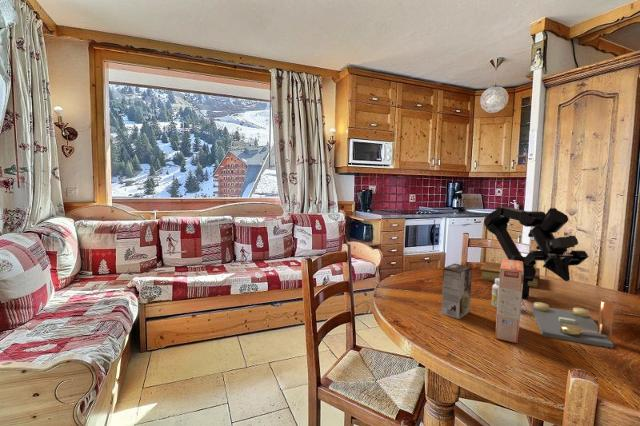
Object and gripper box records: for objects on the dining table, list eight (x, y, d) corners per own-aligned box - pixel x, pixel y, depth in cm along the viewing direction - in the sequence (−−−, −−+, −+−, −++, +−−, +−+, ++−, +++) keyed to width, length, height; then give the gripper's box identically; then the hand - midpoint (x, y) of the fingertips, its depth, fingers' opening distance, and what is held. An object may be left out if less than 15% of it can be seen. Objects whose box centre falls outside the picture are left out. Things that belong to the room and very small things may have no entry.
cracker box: (519, 344, 91) (524, 270, 89) (494, 339, 94) (498, 267, 92) (519, 326, 102) (524, 260, 101) (498, 322, 106) (501, 258, 104)
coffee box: (452, 307, 118) (454, 263, 117) (470, 312, 114) (472, 266, 112) (440, 314, 112) (442, 267, 110) (459, 319, 107) (461, 271, 106)
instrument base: (542, 336, 96) (543, 326, 96) (531, 308, 117) (531, 300, 117) (613, 348, 89) (614, 338, 89) (587, 316, 111) (587, 308, 110)
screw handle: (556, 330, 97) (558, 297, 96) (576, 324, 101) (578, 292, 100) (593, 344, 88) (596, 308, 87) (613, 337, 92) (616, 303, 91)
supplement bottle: (509, 305, 120) (511, 279, 119) (505, 309, 116) (507, 282, 115) (493, 301, 124) (495, 276, 123) (489, 305, 120) (490, 279, 119)
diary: (538, 279, 156) (539, 267, 155) (538, 290, 140) (539, 277, 140) (485, 271, 168) (485, 260, 168) (479, 280, 153) (480, 268, 152)
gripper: (532, 226, 109) (554, 268, 100) (586, 226, 110) (613, 268, 100) (515, 245, 118) (534, 285, 108) (566, 245, 119) (589, 284, 109)
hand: (567, 280), depth 106 cm, fingers closed
